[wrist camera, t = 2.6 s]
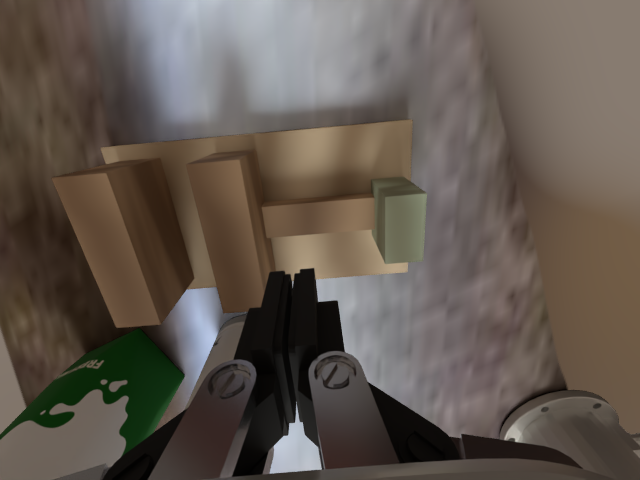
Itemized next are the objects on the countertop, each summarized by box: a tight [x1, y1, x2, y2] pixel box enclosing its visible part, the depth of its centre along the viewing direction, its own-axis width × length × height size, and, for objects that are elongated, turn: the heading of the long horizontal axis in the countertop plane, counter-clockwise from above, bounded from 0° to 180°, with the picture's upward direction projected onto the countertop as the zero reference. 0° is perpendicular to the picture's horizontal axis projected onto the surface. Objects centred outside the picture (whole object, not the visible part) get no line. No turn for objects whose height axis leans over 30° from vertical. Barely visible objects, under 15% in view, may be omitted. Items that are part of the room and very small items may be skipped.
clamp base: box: [52, 120, 413, 328], centre depth 21 cm, size 22×12×7 cm, turn 95°
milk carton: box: [0, 328, 185, 480], centre depth 21 cm, size 9×9×20 cm
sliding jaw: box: [186, 149, 427, 313], centre depth 21 cm, size 13×10×5 cm
